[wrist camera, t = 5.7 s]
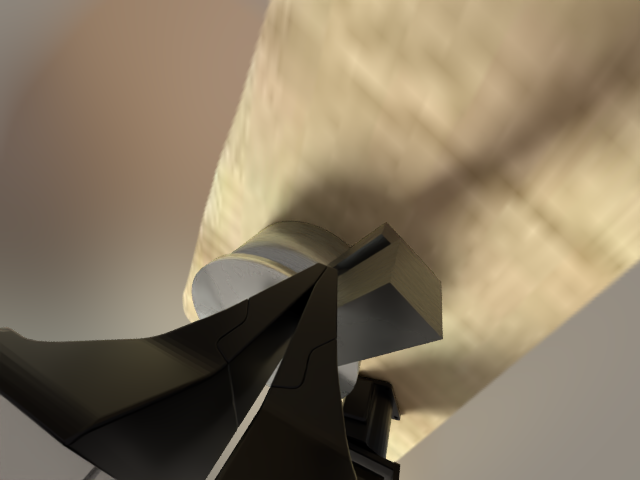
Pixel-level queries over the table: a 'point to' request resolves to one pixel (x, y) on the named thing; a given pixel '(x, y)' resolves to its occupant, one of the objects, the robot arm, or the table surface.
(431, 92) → the table surface
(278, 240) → the pot
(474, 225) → the table surface
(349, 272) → the lid
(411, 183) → the table surface
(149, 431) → the robot arm
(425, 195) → the table surface
